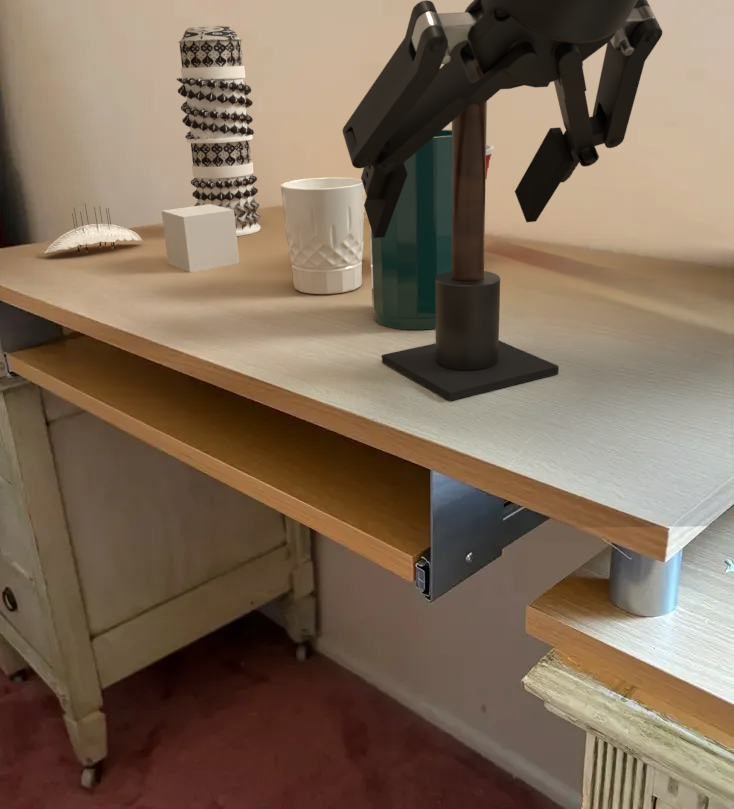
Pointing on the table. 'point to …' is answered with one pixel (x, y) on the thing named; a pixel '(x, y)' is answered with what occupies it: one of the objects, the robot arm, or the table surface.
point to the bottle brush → (468, 256)
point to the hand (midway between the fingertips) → (451, 213)
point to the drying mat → (460, 383)
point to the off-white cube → (200, 237)
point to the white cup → (325, 233)
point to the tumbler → (415, 241)
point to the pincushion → (92, 236)
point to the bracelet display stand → (219, 122)
